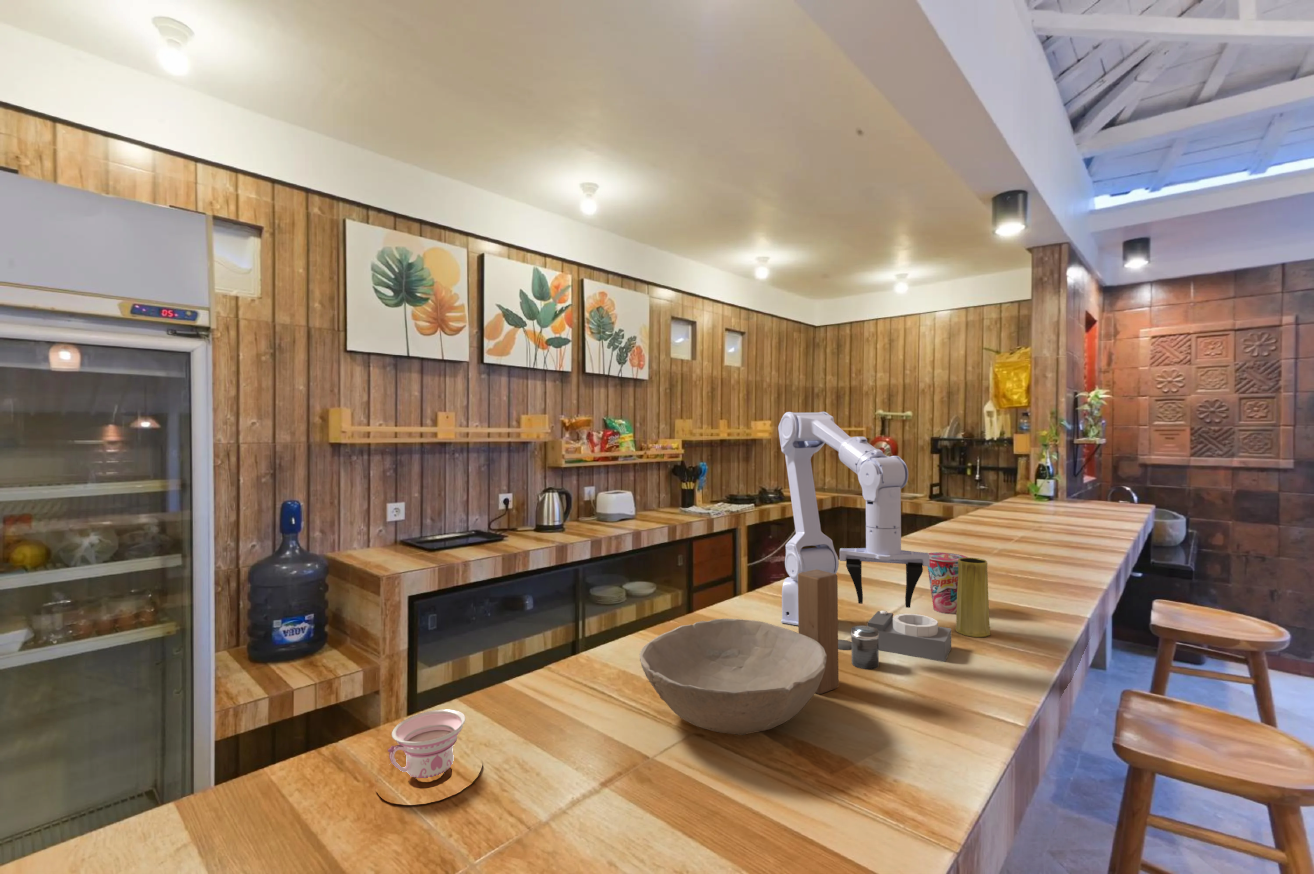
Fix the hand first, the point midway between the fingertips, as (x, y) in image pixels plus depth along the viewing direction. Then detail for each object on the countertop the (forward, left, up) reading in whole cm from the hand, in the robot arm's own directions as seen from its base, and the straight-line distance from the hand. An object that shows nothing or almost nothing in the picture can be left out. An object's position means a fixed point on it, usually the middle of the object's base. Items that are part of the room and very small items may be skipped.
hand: (883, 604), depth 105 cm
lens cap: (-8, +4, -10) cm, 14 cm away
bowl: (-13, -32, -10) cm, 36 cm away
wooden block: (-8, -15, -10) cm, 20 cm away
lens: (-2, -3, -10) cm, 11 cm away
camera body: (+3, +9, -10) cm, 13 cm away
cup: (+6, +37, -10) cm, 38 cm away
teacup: (-38, -64, -10) cm, 75 cm away
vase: (+12, +24, -10) cm, 28 cm away
